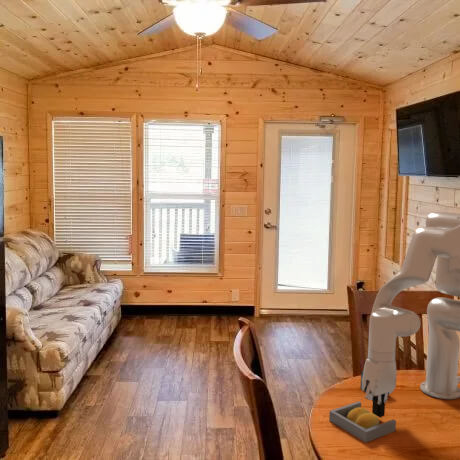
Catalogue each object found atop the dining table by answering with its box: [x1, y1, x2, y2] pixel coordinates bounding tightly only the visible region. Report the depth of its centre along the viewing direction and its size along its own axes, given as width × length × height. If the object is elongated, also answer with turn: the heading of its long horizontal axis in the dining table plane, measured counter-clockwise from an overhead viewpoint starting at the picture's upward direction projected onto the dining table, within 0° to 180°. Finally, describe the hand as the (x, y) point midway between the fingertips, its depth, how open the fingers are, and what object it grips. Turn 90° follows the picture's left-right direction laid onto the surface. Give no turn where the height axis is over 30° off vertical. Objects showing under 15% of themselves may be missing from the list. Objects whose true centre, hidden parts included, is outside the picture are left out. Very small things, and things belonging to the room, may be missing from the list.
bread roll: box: [346, 406, 380, 429], centre depth 147 cm, size 8×9×4 cm
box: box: [328, 401, 397, 443], centre depth 146 cm, size 12×14×3 cm
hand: (378, 414), depth 150 cm, fingers closed
